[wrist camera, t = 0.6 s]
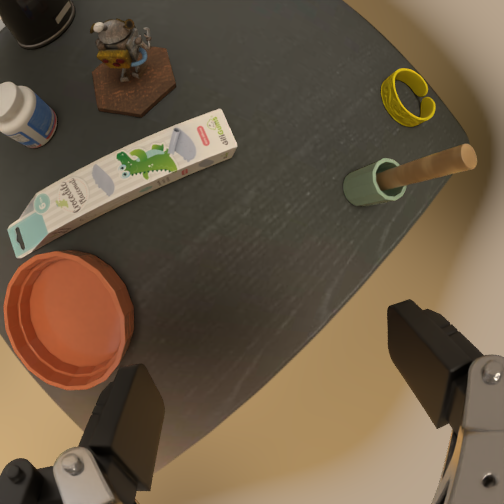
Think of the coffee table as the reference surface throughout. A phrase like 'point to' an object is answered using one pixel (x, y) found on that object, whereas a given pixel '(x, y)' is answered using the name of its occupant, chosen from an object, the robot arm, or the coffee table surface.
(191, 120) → the box
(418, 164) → the stick
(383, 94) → the bracelet
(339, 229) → the coffee table surface
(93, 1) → the coffee table surface
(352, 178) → the holder
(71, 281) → the bowl
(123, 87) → the robot figurine
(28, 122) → the pill bottle
